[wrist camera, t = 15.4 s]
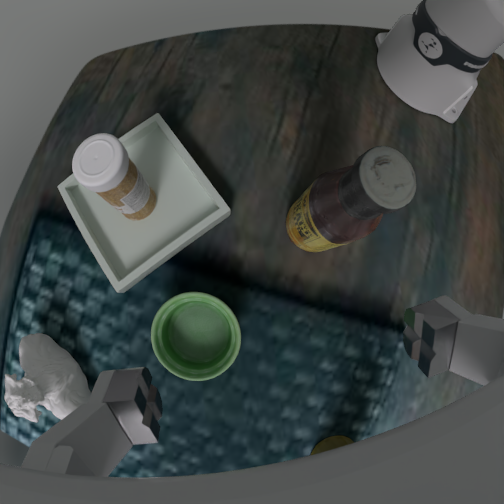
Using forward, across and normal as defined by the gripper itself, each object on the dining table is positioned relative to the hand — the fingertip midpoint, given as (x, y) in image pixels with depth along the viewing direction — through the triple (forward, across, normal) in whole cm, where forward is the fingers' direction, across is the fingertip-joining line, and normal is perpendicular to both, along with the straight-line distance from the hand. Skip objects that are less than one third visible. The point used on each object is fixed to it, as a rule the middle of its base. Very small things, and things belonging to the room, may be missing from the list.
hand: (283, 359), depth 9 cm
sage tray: (+30, +10, -2) cm, 32 cm away
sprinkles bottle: (+29, +11, -2) cm, 31 cm away
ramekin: (+24, +7, +12) cm, 28 cm away
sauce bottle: (+28, -8, +4) cm, 29 cm away
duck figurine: (+22, +25, +14) cm, 36 cm away
